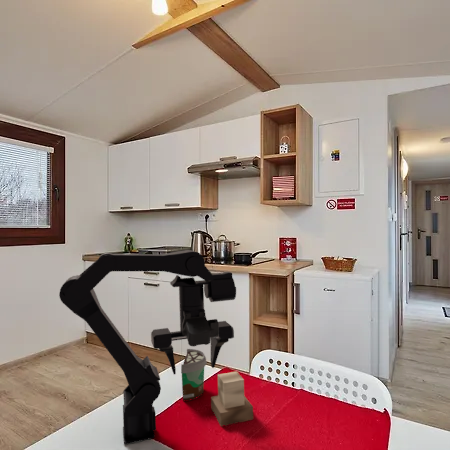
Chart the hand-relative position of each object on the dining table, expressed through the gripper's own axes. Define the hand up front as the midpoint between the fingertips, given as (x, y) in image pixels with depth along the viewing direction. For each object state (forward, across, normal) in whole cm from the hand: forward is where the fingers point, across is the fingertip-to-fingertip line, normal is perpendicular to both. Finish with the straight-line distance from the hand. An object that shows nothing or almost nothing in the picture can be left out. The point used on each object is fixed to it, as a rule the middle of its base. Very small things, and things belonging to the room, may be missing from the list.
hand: (193, 370), depth 82 cm
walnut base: (+12, +9, 0) cm, 15 cm away
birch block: (+9, +9, 0) cm, 13 cm away
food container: (+12, +4, +14) cm, 19 cm away
